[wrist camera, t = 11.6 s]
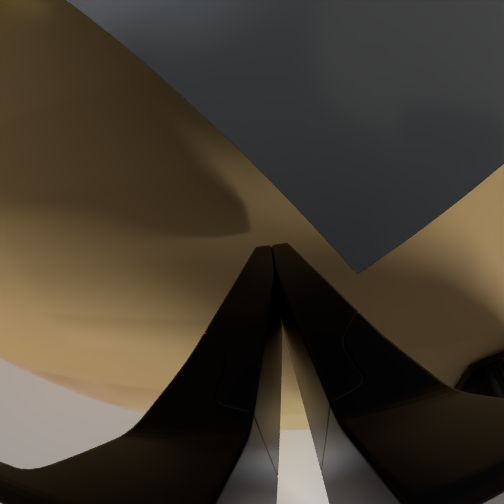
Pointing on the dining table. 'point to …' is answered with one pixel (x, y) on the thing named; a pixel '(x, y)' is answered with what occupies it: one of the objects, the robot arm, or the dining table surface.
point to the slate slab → (338, 99)
